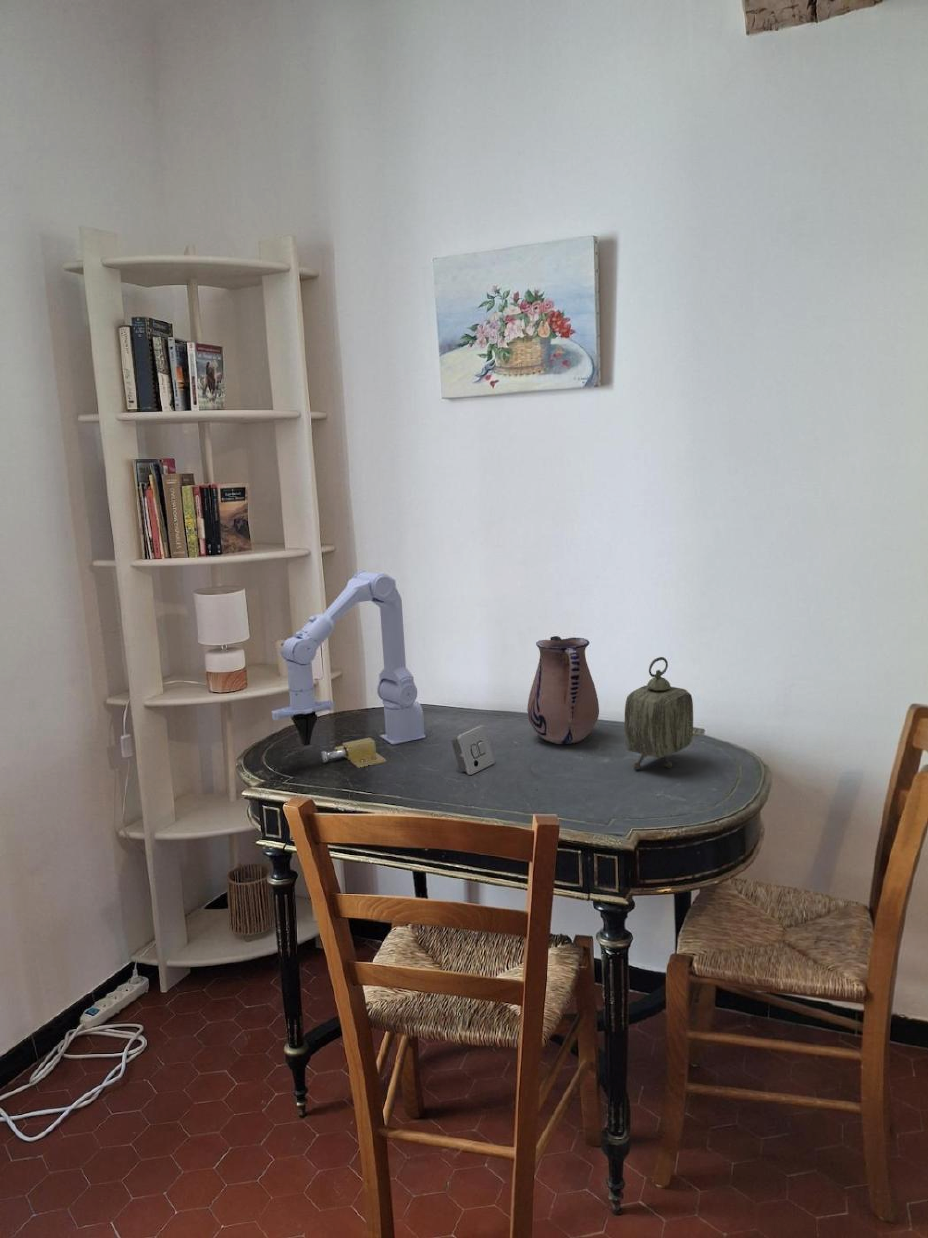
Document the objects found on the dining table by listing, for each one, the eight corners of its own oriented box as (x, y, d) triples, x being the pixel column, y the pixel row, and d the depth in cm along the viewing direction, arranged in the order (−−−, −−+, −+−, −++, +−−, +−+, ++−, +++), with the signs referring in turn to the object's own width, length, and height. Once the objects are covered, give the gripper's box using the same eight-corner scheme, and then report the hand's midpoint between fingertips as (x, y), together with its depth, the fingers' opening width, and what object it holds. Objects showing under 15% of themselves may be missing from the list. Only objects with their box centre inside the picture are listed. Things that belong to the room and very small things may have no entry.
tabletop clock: (661, 753, 214) (660, 649, 209) (696, 761, 207) (695, 654, 202) (625, 771, 204) (623, 662, 199) (659, 780, 197) (658, 667, 193)
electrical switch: (470, 776, 206) (465, 736, 204) (453, 774, 209) (447, 735, 208) (495, 764, 213) (490, 725, 212) (478, 762, 216) (473, 724, 215)
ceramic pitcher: (580, 724, 238) (577, 630, 234) (619, 748, 219) (616, 646, 214) (518, 734, 233) (514, 638, 228) (551, 759, 213) (548, 655, 209)
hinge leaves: (361, 744, 232) (360, 731, 231) (386, 761, 218) (385, 748, 217) (335, 749, 229) (333, 736, 228) (358, 768, 215) (357, 754, 214)
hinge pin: (355, 753, 224) (355, 743, 224) (359, 756, 222) (359, 746, 221) (322, 760, 220) (321, 750, 220) (325, 763, 218) (324, 753, 217)
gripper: (275, 697, 207) (281, 754, 209) (336, 686, 213) (341, 742, 216) (267, 690, 213) (272, 746, 216) (326, 680, 220) (330, 734, 222)
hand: (306, 744), depth 216 cm, fingers closed
